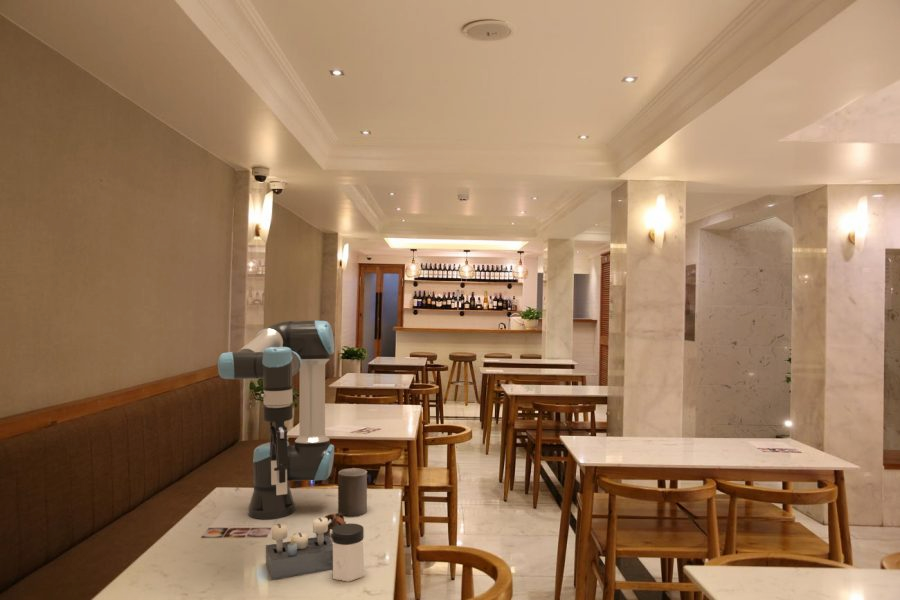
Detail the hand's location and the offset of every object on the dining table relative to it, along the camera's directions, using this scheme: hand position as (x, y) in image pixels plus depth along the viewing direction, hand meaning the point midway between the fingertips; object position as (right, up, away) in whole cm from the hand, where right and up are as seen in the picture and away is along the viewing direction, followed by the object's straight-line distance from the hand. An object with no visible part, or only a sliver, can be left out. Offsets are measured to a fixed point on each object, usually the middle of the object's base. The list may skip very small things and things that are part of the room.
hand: (279, 488), depth 168 cm
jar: (+19, -21, -4) cm, 29 cm away
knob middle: (+5, -21, +2) cm, 22 cm away
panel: (+5, -21, +2) cm, 22 cm away
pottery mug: (+11, -21, +22) cm, 32 cm away
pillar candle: (+13, -21, +44) cm, 50 cm away
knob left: (0, -18, 0) cm, 18 cm away
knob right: (+10, -18, +4) cm, 21 cm away
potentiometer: (+4, -16, -2) cm, 17 cm away
